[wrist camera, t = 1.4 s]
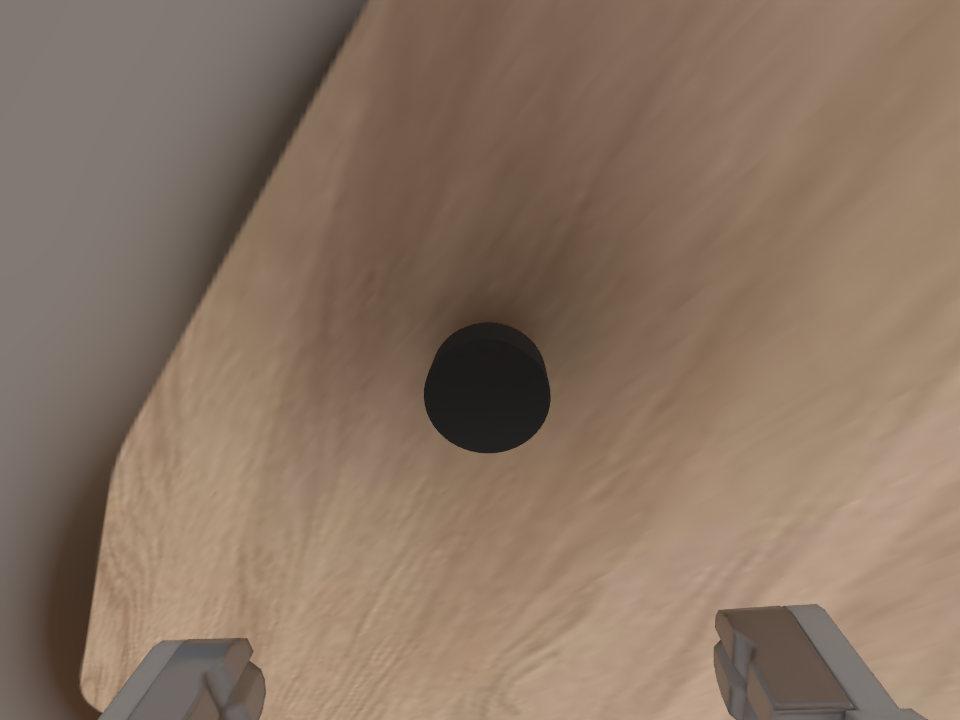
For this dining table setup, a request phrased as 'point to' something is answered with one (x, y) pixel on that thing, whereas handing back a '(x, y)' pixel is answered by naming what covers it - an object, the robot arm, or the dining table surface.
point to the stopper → (487, 388)
